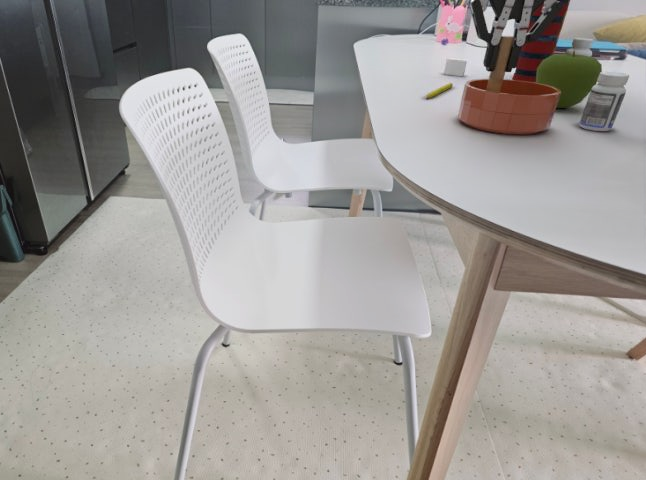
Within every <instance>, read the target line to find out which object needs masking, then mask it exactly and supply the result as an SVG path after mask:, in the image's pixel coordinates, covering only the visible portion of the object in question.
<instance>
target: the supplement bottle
mask: <svg viewBox="0 0 646 480" xmlns="http://www.w3.org/2000/svg"><path fill="white" fill-rule="evenodd" d="M593 43H594V39H593V38H585V37H574V38H573V39H572V42H571V48H568V49H567V50H566V51H565V53H564V54H573V51H575V55H584V56H589V57H593V51H592V50H591V48H592V46H593Z"/></svg>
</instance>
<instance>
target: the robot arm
mask: <svg viewBox="0 0 646 480" xmlns="http://www.w3.org/2000/svg"><path fill="white" fill-rule="evenodd" d="M488 3H490V4H489V5H490V6H491V9H492V11H493V14H494V18H493V21H492V24H491V29H490V32H489V29H488V26H487V21H486V17H485V14H484V12H486V10H487V8H488ZM543 3H544V6H543V8H542V13H543V14H542V15H541V16H540V18H539V19H538V20H537V21H536V23H535V24H534V25H533V27H532V28H531V29H530V30H529V32H528V33H527V29H528V27H529V22H530V16H531V15H532V14H533V13H534V12H535V11H536V10H537V9H538V8H539V7H540V6H541V5H542V4H543ZM468 6H469V10H470V13H471V18H472V21H473V25H474V28H475V32H476V36H477V39H479V40H481V41H484V42H485V43H486V49H485V54H484V58H483V61H482V62H483V64H482V65H483V67H485V70H486V71H487V72H491V71H493V69H494V65H495V61H496V57H497V53H498V50H499V46H498V43H499V41H500V38H501V36H503V33H504V30H505V28H506V27H507V24H508V21H510V20H511V21H512V20H514V22H513V23H514V24H513V34H512V36H514V41H513V45H512V49H511V52H510V56H509V60H508V64H507V68H506V71H505V73H512V71H513V69H516V68H515V67H516V66H517V64H518V60H519V56H520V53H521V49H522V47H523V45H525V44H527V43H530V42H536V41H537V40H538V38H539V37H540V36H541V35H542V34H543V32H544V31H545V30H546V29H547V27H548V26H549V25H550V24H551V22H552V21H553V20H554V19H555V17H556V16H557V15H558V14H559V12H560V11H561V10H562V9H563V7H564V3H563V2H560V1H557V0H469V3H468Z"/></svg>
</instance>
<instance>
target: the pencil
mask: <svg viewBox="0 0 646 480" xmlns="http://www.w3.org/2000/svg"><path fill="white" fill-rule="evenodd" d="M453 86H454V84H453V83H452V82H449V83H446V84H445V85H443V86H441V87H439V88H437V89H435V90H434V91H431V92H429V93H427V95H426V99H428V100H429V99H430V100H431V99H432V98H434V97H436V96H438V95H440V94H442V93H444V92H446V91H447V90H449V89H450V88H452V87H453Z"/></svg>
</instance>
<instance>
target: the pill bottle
mask: <svg viewBox="0 0 646 480" xmlns="http://www.w3.org/2000/svg"><path fill="white" fill-rule="evenodd" d="M629 78H630V74H629V73H626V72H619V71H602V72H601V73H600V74H599V77H598V79H597V83H596V85H594V86H593V87H592V89H591V91H590V93H589V94H588V98H587V101H586V103H585V106H584V109H583V112H582V115H581V118H580V120H579V124H578V126H579V127H580V128H582V129H584V130H588V131H594V132H609V131H611V130H612V129H613V127H614V125H615V121H616V119H617V117H618V114H619V111H620V109H621V107H622V104H623V101H624V99H625V96H626V93H627V88H626V87H625V86H626V85H627V83H628V80H629Z"/></svg>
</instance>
